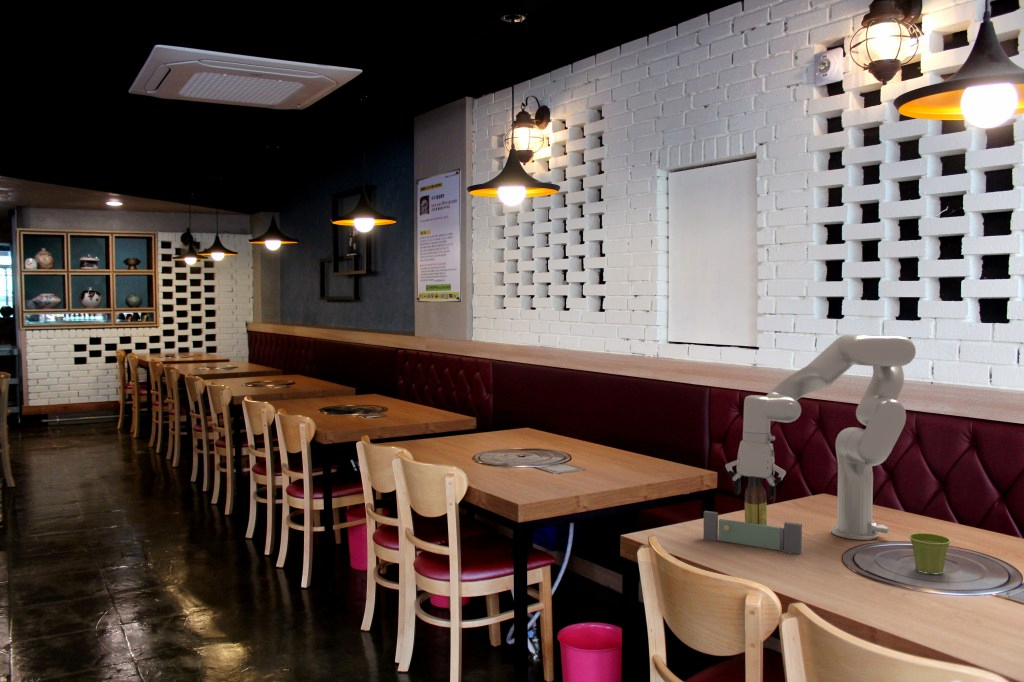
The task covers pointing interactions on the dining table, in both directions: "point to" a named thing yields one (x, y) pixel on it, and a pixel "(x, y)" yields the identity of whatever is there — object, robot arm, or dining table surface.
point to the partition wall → (790, 532)
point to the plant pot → (929, 551)
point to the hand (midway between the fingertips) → (754, 496)
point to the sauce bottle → (755, 502)
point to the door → (751, 534)
